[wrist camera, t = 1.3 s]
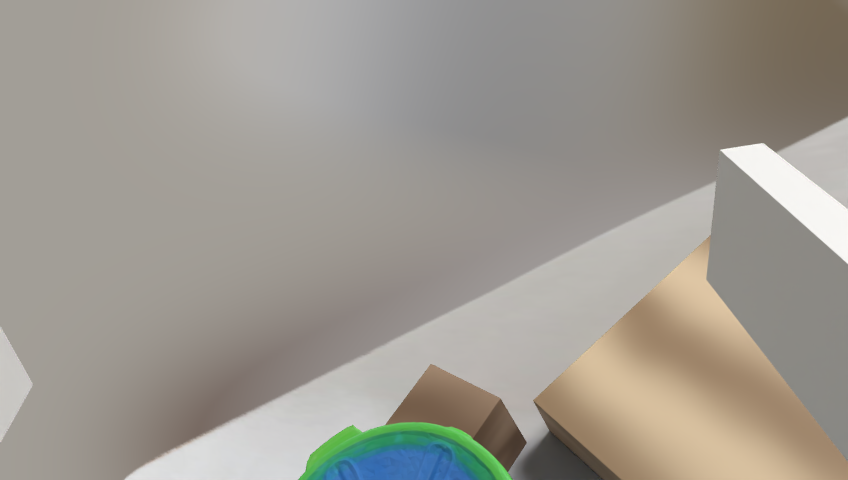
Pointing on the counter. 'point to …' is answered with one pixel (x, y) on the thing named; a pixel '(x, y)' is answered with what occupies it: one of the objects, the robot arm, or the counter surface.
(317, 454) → the snack cup
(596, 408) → the oak base slab
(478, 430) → the walnut block
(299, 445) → the counter surface
